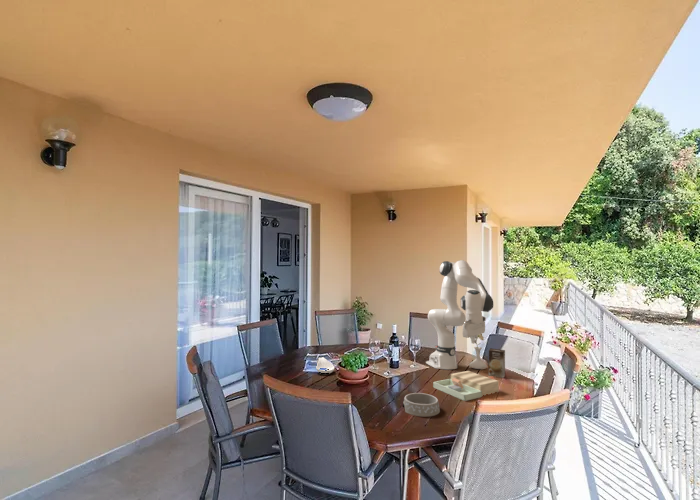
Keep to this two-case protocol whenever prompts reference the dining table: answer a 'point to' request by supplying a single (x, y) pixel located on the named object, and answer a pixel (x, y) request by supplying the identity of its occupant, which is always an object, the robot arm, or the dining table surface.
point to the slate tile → (455, 388)
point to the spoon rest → (324, 365)
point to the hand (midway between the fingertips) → (474, 343)
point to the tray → (464, 395)
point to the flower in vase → (478, 357)
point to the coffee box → (496, 363)
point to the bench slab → (477, 382)
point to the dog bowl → (421, 404)
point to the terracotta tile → (457, 382)
